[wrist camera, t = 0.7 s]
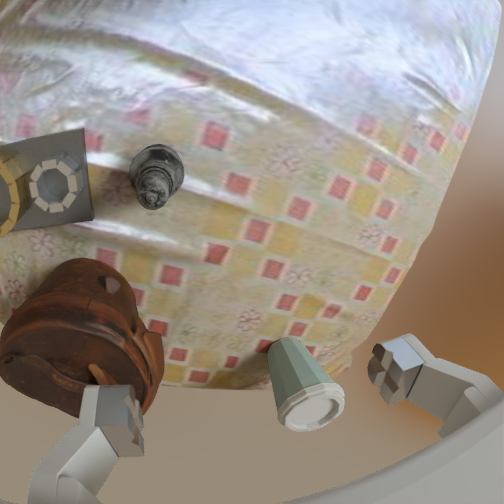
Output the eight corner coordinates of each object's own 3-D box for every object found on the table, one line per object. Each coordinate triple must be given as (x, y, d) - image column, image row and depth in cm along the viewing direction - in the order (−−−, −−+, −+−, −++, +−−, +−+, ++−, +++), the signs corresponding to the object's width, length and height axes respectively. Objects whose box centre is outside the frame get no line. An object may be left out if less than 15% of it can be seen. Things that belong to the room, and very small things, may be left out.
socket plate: (-37, 157, 26) (-52, 164, 23) (83, 128, 30) (74, 132, 27) (-21, 233, 31) (-32, 244, 28) (94, 217, 35) (88, 229, 32)
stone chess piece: (147, 199, 36) (138, 245, 26) (124, 156, 33) (102, 187, 22) (191, 176, 36) (199, 215, 26) (170, 132, 33) (167, 151, 22)
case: (164, 345, 47) (170, 444, 32) (47, 339, 42) (20, 430, 26) (164, 242, 39) (162, 341, 24) (23, 238, 34) (-39, 323, 18)
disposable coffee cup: (243, 357, 52) (265, 430, 40) (286, 316, 50) (321, 388, 37) (284, 374, 57) (310, 438, 45) (325, 338, 55) (361, 401, 42)
